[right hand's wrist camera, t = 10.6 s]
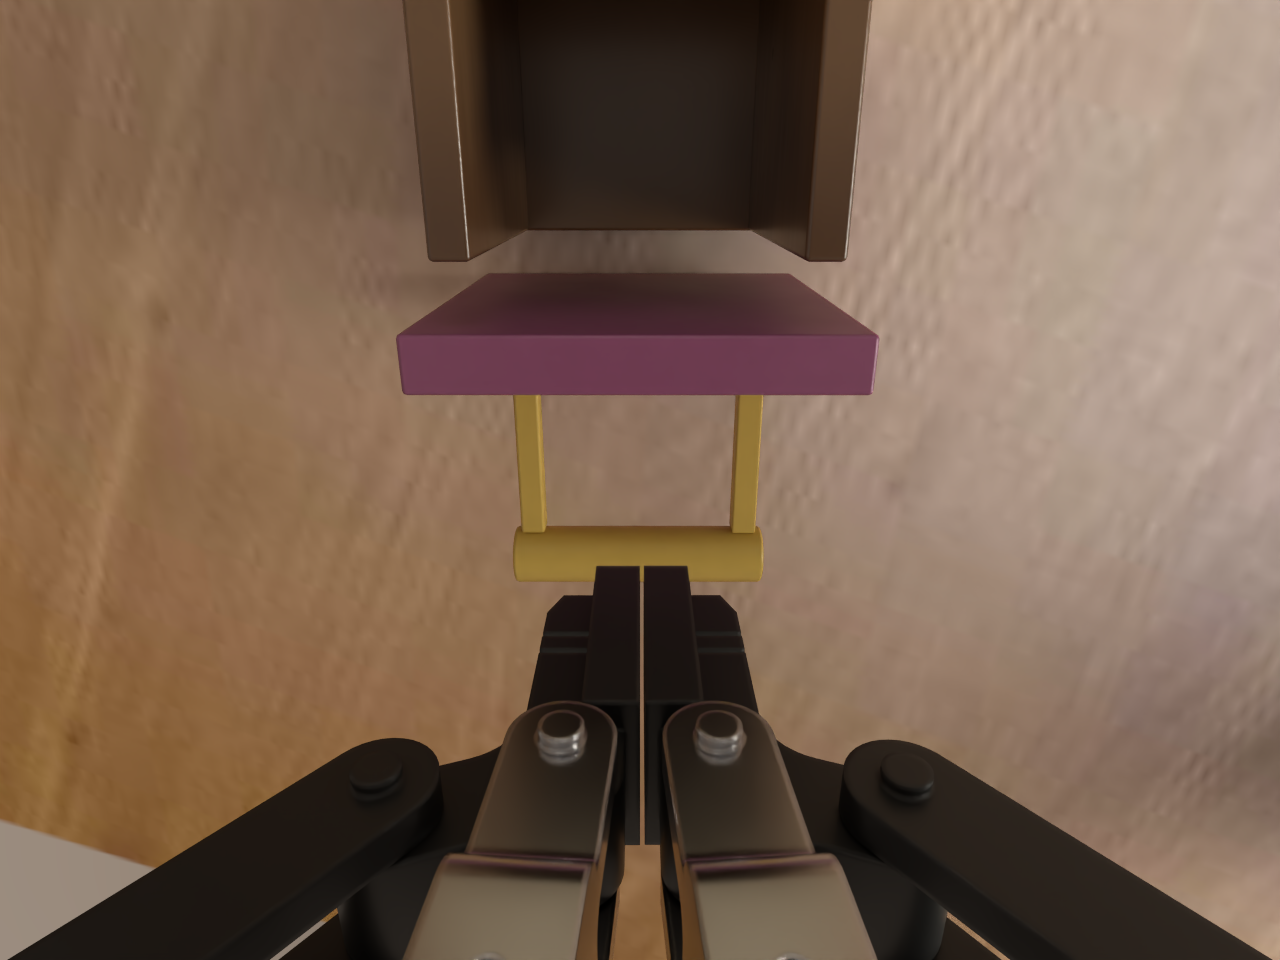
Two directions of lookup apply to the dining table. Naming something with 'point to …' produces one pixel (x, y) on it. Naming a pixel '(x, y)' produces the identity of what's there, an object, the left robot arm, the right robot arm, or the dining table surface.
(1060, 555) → the dining table surface
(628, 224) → the drawer
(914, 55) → the dining table surface
